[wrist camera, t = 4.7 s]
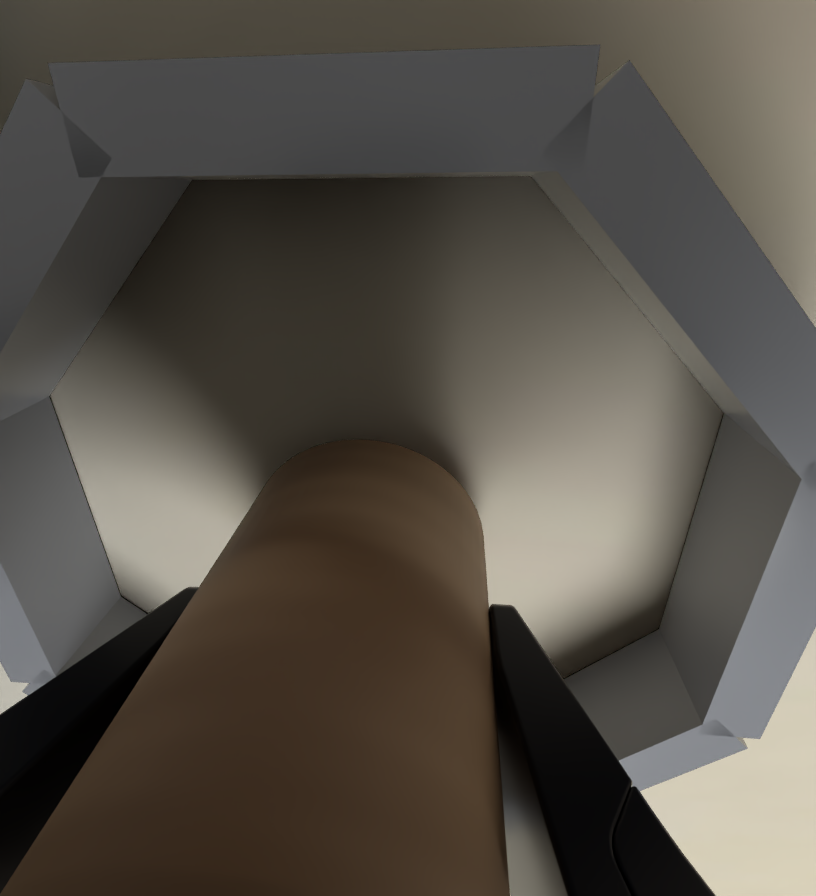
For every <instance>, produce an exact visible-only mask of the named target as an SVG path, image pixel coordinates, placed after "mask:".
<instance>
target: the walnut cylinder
mask: <svg viewBox="0 0 816 896" xmlns="http://www.w3.org/2000/svg"><path fill="white" fill-rule="evenodd" d="M0 896H510V889H509V876H508V862H507V848H506V835H505V821H504V808H503V794H502V781H501V767H500V753H499V740H498V726H497V713H496V699H495V685H494V672H493V659H492V645H491V632H490V618H489V604H488V590H487V577H486V563H485V550H484V536H483V530H482V524H481V521H480V518H479V515H478V512H477V509H476V508H475V506H474V504H473V502H472V500H471V498H470V497H469V495H468V494H467V492H466V491H465V490H464V488H463V487H462V486H461V485H460V483H459V482H458V481H457V480H456V479H455V478H454V477H453V476H452V475H451V474H450V473H448V472H447V471H446V470H445V469H443V468H442V467H441V466H440V465H438V464H437V463H435V462H433V461H432V460H430V459H429V458H427V457H425V456H423V455H421V454H419V453H417V452H415V451H413V450H410V449H407V448H404V447H401V446H398V445H395V444H391V443H386V442H381V441H374V440H363V439H358V440H341V441H334V442H329V443H325V444H322V445H318V446H315V447H312V448H310V449H308V450H305V451H303V452H301V453H299V454H297V455H296V456H294V457H293V458H291V459H289V460H288V461H287V462H286V463H284V464H283V465H282V466H281V467H280V468H278V469H277V471H276V472H275V473H274V474H273V475H272V476H271V477H270V479H269V480H268V482H267V483H266V485H265V486H264V488H263V489H262V491H261V492H260V494H259V496H258V497H257V499H256V500H255V502H254V503H253V505H252V506H251V508H250V509H249V511H248V512H247V514H246V516H245V517H244V519H243V520H242V522H241V523H240V525H239V526H238V528H237V529H236V531H235V533H234V534H233V536H232V537H231V539H230V540H229V542H228V543H227V545H226V546H225V548H224V549H223V551H222V553H221V554H220V556H219V557H218V559H217V560H216V562H215V563H214V565H213V566H212V568H211V570H210V571H209V573H208V574H207V576H206V577H205V579H204V580H203V582H202V583H201V585H200V587H199V588H198V590H197V591H196V593H195V594H194V596H193V597H192V599H191V600H190V602H189V603H188V605H187V607H186V608H185V610H184V611H183V613H182V614H181V616H180V617H179V619H178V620H177V622H176V624H175V625H174V627H173V628H172V630H171V631H170V633H169V634H168V636H167V637H166V639H165V640H164V642H163V644H162V645H161V647H160V648H159V650H158V651H157V653H156V654H155V656H154V657H153V659H152V661H151V662H150V664H149V665H148V667H147V668H146V670H145V671H144V673H143V674H142V676H141V677H140V679H139V681H138V682H137V684H136V685H135V687H134V688H133V690H132V691H131V693H130V694H129V696H128V698H127V699H126V701H125V702H124V704H123V705H122V707H121V708H120V710H119V711H118V713H117V715H116V716H115V718H114V719H113V721H112V722H111V724H110V725H109V727H108V728H107V730H106V731H105V733H104V735H103V736H102V738H101V739H100V741H99V742H98V744H97V745H96V747H95V748H94V750H93V752H92V753H91V755H90V756H89V758H88V759H87V761H86V762H85V764H84V765H83V767H82V768H81V770H80V772H79V773H78V775H77V776H76V778H75V779H74V781H73V782H72V784H71V785H70V787H69V789H68V790H67V792H66V793H65V795H64V796H63V798H62V799H61V801H60V802H59V804H58V805H57V807H56V809H55V810H54V812H53V813H52V815H51V816H50V818H49V819H48V821H47V822H46V824H45V826H44V827H43V829H42V830H41V832H40V833H39V835H38V836H37V838H36V839H35V841H34V842H33V844H32V846H31V847H30V849H29V850H28V852H27V853H26V855H25V856H24V858H23V859H22V861H21V863H20V864H19V866H18V867H17V869H16V870H15V872H14V873H13V875H12V876H11V878H10V880H9V881H8V883H7V884H6V886H5V887H4V889H3V890H2V892H1V893H0Z"/></svg>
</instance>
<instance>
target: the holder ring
mask: <svg viewBox="0 0 816 896" xmlns="http://www.w3.org/2000/svg"><path fill="white" fill-rule="evenodd" d="M599 51H600V45H573V46H543V47H513V48H483V49H453V50H423V51H393V52H363V53H333V54H303V55H273V56H243V57H213V58H183V59H153V60H123V61H92V62H62V63H48V66H49V70H50V74H51V77H52V81H53V85H54V86H53V85H50V84H46V83H42V82H38V81H34V80H30V79H25V82H24V84H23V86H22V88H21V90H20V92H19V95H18V97H17V99H16V101H15V103H14V105H13V108H12V110H11V112H10V114H9V116H8V119H7V121H6V123H5V125H4V127H3V129H2V132H1V134H0V662H1V664H2V666H3V668H4V670H5V672H6V673H7V675H8V677H9V679H10V681H11V682H23V683H29V684H28V685H27V686H26V688H25V689H24V690H23V691H22V692H23V693H25V694H27V695H29V694H31V693H32V692H34V691H35V690H37V689H38V688H40V687H41V686H43V685H44V684H46V683H47V682H49V681H50V680H52V679H53V678H54V677H56V676H57V675H59V674H60V673H62V672H63V671H65V670H66V669H68V668H69V667H71V666H72V665H74V664H75V663H76V662H78V661H79V660H81V659H82V658H84V657H85V656H87V655H88V654H90V653H91V652H93V651H94V650H96V649H97V648H99V647H100V646H101V645H103V644H104V643H106V642H107V641H109V640H110V639H112V638H113V637H115V636H116V635H118V634H119V633H121V632H122V631H124V630H125V629H126V628H128V627H129V626H131V625H132V624H134V623H135V622H137V621H138V620H140V619H141V618H143V617H144V616H146V615H147V614H146V613H145V612H143V611H142V610H140V609H139V608H137V607H136V606H134V605H133V604H131V603H130V602H128V601H127V600H125V599H124V598H122V597H121V595H120V593H119V590H118V587H117V584H116V581H115V579H114V576H113V573H112V570H111V567H110V565H109V562H108V559H107V556H106V553H105V551H104V548H103V545H102V542H101V540H100V537H99V534H98V531H97V528H96V526H95V523H94V520H93V517H92V514H91V512H90V509H89V506H88V503H87V500H86V498H85V495H84V492H83V489H82V486H81V484H80V481H79V478H78V475H77V472H76V470H75V467H74V464H73V461H72V458H71V456H70V453H69V450H68V447H67V445H66V442H65V439H64V436H63V433H62V431H61V428H60V425H59V422H58V419H57V417H56V414H55V411H54V408H53V405H52V403H51V400H50V397H49V396H50V394H51V393H52V391H53V390H54V388H55V387H56V385H57V384H58V382H59V381H60V379H61V378H62V376H63V375H64V373H65V372H66V370H67V368H68V367H69V365H70V364H71V362H72V361H73V359H74V358H75V356H76V355H77V353H78V352H79V350H80V349H81V347H82V346H83V344H84V343H85V341H86V340H87V338H88V337H89V335H90V334H91V332H92V331H93V329H94V328H95V326H96V324H97V323H98V321H99V320H100V318H101V317H102V315H103V314H104V312H105V311H106V309H107V308H108V306H109V305H110V303H111V302H112V300H113V299H114V297H115V296H116V294H117V293H118V291H119V290H120V288H121V287H122V285H123V284H124V282H125V281H126V279H127V277H128V276H129V274H130V273H131V271H132V270H133V268H134V267H135V265H136V264H137V262H138V261H139V259H140V258H141V256H142V255H143V253H144V252H145V250H146V249H147V247H148V246H149V244H150V243H151V241H152V240H153V238H154V237H155V235H156V233H157V232H158V230H159V229H160V227H161V226H162V224H163V223H164V221H165V220H166V218H167V217H168V215H169V214H170V212H171V211H172V209H173V208H174V206H175V205H176V203H177V202H178V200H179V199H180V197H181V196H182V194H183V193H184V191H185V190H186V188H187V186H188V185H189V183H190V182H191V180H231V179H313V178H394V177H475V176H531V177H532V178H533V179H534V180H535V182H536V183H537V184H538V185H539V186H540V188H541V189H542V190H543V191H544V193H545V194H546V195H547V196H548V198H549V199H550V200H551V201H552V202H553V204H554V205H555V206H556V207H557V209H558V210H559V211H560V212H561V214H562V215H563V216H564V217H565V218H566V220H567V221H568V222H569V223H570V225H571V226H572V227H573V228H574V230H575V231H576V232H577V233H578V234H579V236H580V237H581V238H582V239H583V241H584V242H585V243H586V244H587V246H588V247H589V248H590V249H591V250H592V252H593V253H594V254H595V255H596V257H597V258H598V259H599V260H600V261H601V263H602V264H603V265H604V266H605V268H606V269H607V270H608V271H609V273H610V274H611V275H612V276H613V277H614V279H615V280H616V281H617V282H618V284H619V285H620V286H621V287H622V289H623V290H624V291H625V292H626V293H627V295H628V296H629V297H630V298H631V300H632V301H633V302H634V303H635V305H636V306H637V307H638V308H639V309H640V311H641V312H642V313H643V314H644V316H645V317H646V318H647V319H648V321H649V322H650V323H651V324H652V325H653V327H654V328H655V329H656V330H657V332H658V333H659V334H660V335H661V337H662V338H663V339H664V340H665V341H666V343H667V344H668V345H669V346H670V348H671V349H672V350H673V351H674V352H675V354H676V355H677V356H678V357H679V359H680V360H681V361H682V362H683V364H684V365H685V366H686V367H687V368H688V370H689V371H690V372H691V373H692V375H693V376H694V377H695V378H696V380H697V381H698V382H699V383H700V384H701V386H702V387H703V388H704V389H705V391H706V392H707V393H708V394H709V396H710V397H711V398H712V399H713V400H714V402H715V403H716V404H717V405H718V407H719V408H720V409H721V410H722V412H723V413H724V415H723V419H722V422H721V425H720V429H719V432H718V435H717V439H716V442H715V445H714V449H713V452H712V455H711V459H710V462H709V465H708V468H707V472H706V475H705V478H704V482H703V485H702V488H701V492H700V495H699V498H698V502H697V505H696V508H695V512H694V515H693V518H692V522H691V525H690V528H689V531H688V535H687V538H686V541H685V545H684V548H683V551H682V555H681V558H680V561H679V565H678V568H677V571H676V575H675V578H674V581H673V584H672V588H671V591H670V594H669V598H668V601H667V604H666V608H665V611H664V614H663V618H662V621H661V624H660V628H659V629H658V630H656V631H655V632H653V633H651V634H649V635H647V636H645V637H643V638H641V639H639V640H638V641H636V642H634V643H632V644H630V645H628V646H626V647H624V648H622V649H620V650H619V651H617V652H615V653H613V654H611V655H609V656H607V657H605V658H603V659H601V660H600V661H598V662H596V663H594V664H592V665H590V666H588V667H586V668H584V669H582V670H581V671H579V672H577V673H575V674H573V675H571V676H569V677H567V678H565V679H564V681H565V682H566V684H567V685H568V687H569V688H570V690H571V691H572V693H573V694H574V696H575V697H576V699H577V700H578V702H579V703H580V705H581V706H582V707H583V709H584V710H585V712H586V713H587V715H588V716H589V718H590V719H591V721H592V722H593V724H594V725H595V727H596V728H597V730H598V731H599V733H600V734H601V736H602V737H603V739H604V740H605V741H606V743H607V744H608V746H609V747H610V749H611V750H612V752H613V753H614V755H615V756H616V758H617V759H618V761H619V762H620V764H621V765H622V767H623V768H624V770H625V771H626V772H627V774H628V775H629V777H630V778H631V780H632V782H633V784H632V786H635V787H637V788H638V790H639V791H641V790H644V789H646V788H649V787H651V786H654V785H656V784H659V783H661V782H664V781H667V780H669V779H672V778H674V777H677V776H679V775H682V774H684V773H687V772H689V771H692V770H694V769H697V768H699V767H702V766H705V765H707V764H710V763H712V762H715V761H717V760H720V759H722V758H725V757H727V756H730V755H732V754H735V753H737V752H740V751H742V750H745V749H748V748H747V746H746V744H745V742H744V740H743V738H754V739H760V738H761V736H762V734H763V732H764V730H765V728H766V726H767V724H768V722H769V720H770V718H771V716H772V714H773V712H774V710H775V708H776V706H777V704H778V702H779V700H780V698H781V696H782V694H783V692H784V690H785V688H786V686H787V684H788V682H789V680H790V678H791V676H792V674H793V672H794V670H795V668H796V666H797V664H798V662H799V660H800V658H801V656H802V653H803V651H804V649H805V647H806V645H807V643H808V641H809V639H810V637H811V635H812V633H813V631H814V629H815V627H816V328H815V326H814V325H813V324H812V322H811V321H810V319H809V318H808V316H807V315H806V313H805V312H804V311H803V309H802V308H801V306H800V305H799V303H798V302H797V300H796V299H795V298H794V296H793V295H792V293H791V292H790V290H789V289H788V288H787V286H786V285H785V283H784V282H783V280H782V279H781V277H780V276H779V275H778V273H777V272H776V270H775V269H774V267H773V266H772V265H771V263H770V262H769V260H768V259H767V257H766V256H765V254H764V253H763V252H762V250H761V249H760V247H759V246H758V244H757V243H756V241H755V240H754V239H753V237H752V236H751V234H750V233H749V231H748V230H747V229H746V227H745V226H744V224H743V223H742V221H741V220H740V218H739V217H738V216H737V214H736V213H735V211H734V210H733V208H732V207H731V206H730V204H729V203H728V201H727V200H726V198H725V197H724V195H723V194H722V193H721V191H720V190H719V188H718V187H717V185H716V184H715V183H714V181H713V180H712V178H711V177H710V175H709V174H708V172H707V171H706V170H705V168H704V167H703V165H702V164H701V162H700V161H699V159H698V158H697V157H696V155H695V154H694V152H693V151H692V149H691V148H690V147H689V145H688V144H687V142H686V141H685V139H684V138H683V136H682V135H681V134H680V132H679V131H678V129H677V128H676V126H675V125H674V124H673V122H672V121H671V119H670V118H669V116H668V115H667V113H666V112H665V111H664V109H663V108H662V106H661V105H660V103H659V102H658V100H657V99H656V98H655V96H654V95H653V93H652V92H651V90H650V89H649V88H648V86H647V85H646V83H645V82H644V80H643V79H642V77H641V76H640V75H639V73H638V72H637V70H636V69H635V67H634V66H633V65H632V63H631V62H630V60H629V61H627V62H626V63H625V64H623V65H622V66H621V67H619V68H618V69H617V70H615V71H614V72H613V73H611V74H610V75H609V76H607V77H606V78H605V79H603V80H602V81H601V82H599V83H598V84H597V85H595V81H596V74H597V66H598V58H599Z"/></svg>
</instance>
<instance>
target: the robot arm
mask: <svg viewBox="0 0 816 896" xmlns="http://www.w3.org/2000/svg"><path fill="white" fill-rule="evenodd" d="M198 588H199V587H188V588H186V589H184V590H182V591H181V592H179V593H178V594H176V595H175V596H174V597H172V598H171V599H169V600H168V601H166V602H165V603H163V604H162V605H160V606H159V607H157V608H156V609H154V610H153V611H151V612H150V613H149V614H147V615H146V616H144V617H143V618H141V619H140V620H138V621H137V622H135V623H134V624H132V625H131V626H129V627H128V628H126V629H125V630H124V631H122V632H121V633H119V634H118V635H116V636H115V637H113V638H112V639H110V640H109V641H107V642H106V643H104V644H103V645H101V646H100V647H99V648H97V649H96V650H94V651H93V652H91V653H90V654H88V655H87V656H85V657H84V658H82V659H81V660H79V661H78V662H76V663H75V664H74V665H72V666H71V667H69V668H68V669H66V670H65V671H63V672H62V673H60V674H59V675H57V676H56V677H54V678H53V679H52V680H50V681H49V682H47V683H46V684H44V685H43V686H41V687H40V688H38V689H37V690H35V691H34V692H32V693H31V694H29V695H28V696H27V697H25V698H24V699H22V700H21V701H19V702H18V703H16V704H15V705H13V706H12V707H10V708H9V709H7V710H6V711H4V712H3V713H1V714H0V893H1V892H2V890H3V889H4V887H5V886H6V884H7V883H8V881H9V880H10V878H11V876H12V875H13V873H14V872H15V870H16V869H17V867H18V866H19V864H20V863H21V861H22V859H23V858H24V856H25V855H26V853H27V852H28V850H29V849H30V847H31V846H32V844H33V842H34V841H35V839H36V838H37V836H38V835H39V833H40V832H41V830H42V829H43V827H44V826H45V824H46V822H47V821H48V819H49V818H50V816H51V815H52V813H53V812H54V810H55V809H56V807H57V805H58V804H59V802H60V801H61V799H62V798H63V796H64V795H65V793H66V792H67V790H68V789H69V787H70V785H71V784H72V782H73V781H74V779H75V778H76V776H77V775H78V773H79V772H80V770H81V768H82V767H83V765H84V764H85V762H86V761H87V759H88V758H89V756H90V755H91V753H92V752H93V750H94V748H95V747H96V745H97V744H98V742H99V741H100V739H101V738H102V736H103V735H104V733H105V731H106V730H107V728H108V727H109V725H110V724H111V722H112V721H113V719H114V718H115V716H116V715H117V713H118V711H119V710H120V708H121V707H122V705H123V704H124V702H125V701H126V699H127V698H128V696H129V694H130V693H131V691H132V690H133V688H134V687H135V685H136V684H137V682H138V681H139V679H140V677H141V676H142V674H143V673H144V671H145V670H146V668H147V667H148V665H149V664H150V662H151V661H152V659H153V657H154V656H155V654H156V653H157V651H158V650H159V648H160V647H161V645H162V644H163V642H164V640H165V639H166V637H167V636H168V634H169V633H170V631H171V630H172V628H173V627H174V625H175V624H176V622H177V620H178V619H179V617H180V616H181V614H182V613H183V611H184V610H185V608H186V607H187V605H188V603H189V602H190V600H191V599H192V597H193V596H194V594H195V593H196V591H197V590H198ZM489 618H490V632H491V645H492V659H493V672H494V685H495V699H496V713H497V726H498V740H499V753H500V767H501V781H502V794H503V808H504V821H505V835H506V848H507V862H508V876H509V888H510V895H511V896H716V895H715V894H714V893H713V891H712V890H711V889H710V888H709V886H708V885H707V884H706V883H705V881H704V880H703V879H702V877H701V876H700V875H699V874H698V872H697V871H696V870H695V868H694V867H693V866H692V865H691V863H690V862H689V861H688V859H687V858H686V857H685V856H684V854H683V853H682V852H681V850H680V849H679V847H678V846H677V845H676V843H675V842H674V840H673V839H672V837H671V836H670V835H669V833H668V832H667V830H666V829H665V828H664V826H663V825H662V823H661V822H660V821H659V819H658V818H657V816H656V815H655V814H654V812H653V811H652V809H651V808H650V806H649V805H648V803H647V802H646V800H645V799H644V797H643V796H642V794H641V793H640V791H639V790H638V788H637V787H635V786H632V784H633V782H632V780H631V778H630V777H629V775H628V774H627V772H626V771H625V770H624V768H623V767H622V765H621V764H620V762H619V761H618V759H617V758H616V756H615V755H614V753H613V752H612V750H611V749H610V747H609V746H608V744H607V743H606V741H605V740H604V739H603V737H602V736H601V734H600V733H599V731H598V730H597V728H596V727H595V725H594V724H593V722H592V721H591V719H590V718H589V716H588V715H587V713H586V712H585V710H584V709H583V707H582V706H581V705H580V703H579V702H578V700H577V699H576V697H575V696H574V694H573V693H572V691H571V690H570V688H569V687H568V685H567V684H566V682H565V681H564V679H563V678H562V676H561V675H560V674H559V672H558V671H557V669H556V668H555V666H554V665H553V663H552V662H551V660H550V659H549V657H548V656H547V654H546V653H545V651H544V650H543V648H542V647H541V645H540V644H539V643H538V641H537V640H536V638H535V637H534V635H533V634H532V632H531V631H530V629H529V628H528V626H527V625H526V623H525V622H524V620H523V619H522V617H521V616H520V614H519V613H518V611H517V610H516V609H515V607H513V606H512V605H500V604H492V605H491V606H490V607H489Z"/></svg>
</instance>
